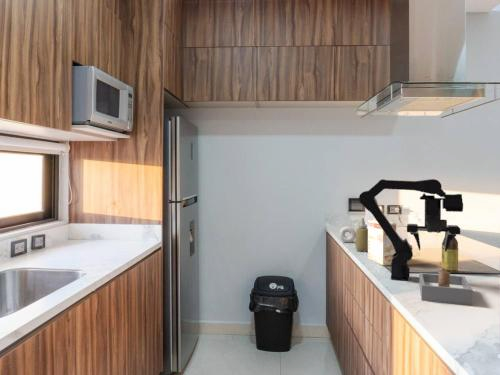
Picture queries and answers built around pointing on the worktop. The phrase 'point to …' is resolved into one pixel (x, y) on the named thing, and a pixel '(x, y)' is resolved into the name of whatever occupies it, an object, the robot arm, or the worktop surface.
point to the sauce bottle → (450, 256)
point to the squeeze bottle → (361, 237)
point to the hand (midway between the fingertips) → (432, 250)
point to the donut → (344, 230)
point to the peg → (444, 279)
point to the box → (445, 289)
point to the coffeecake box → (379, 244)
